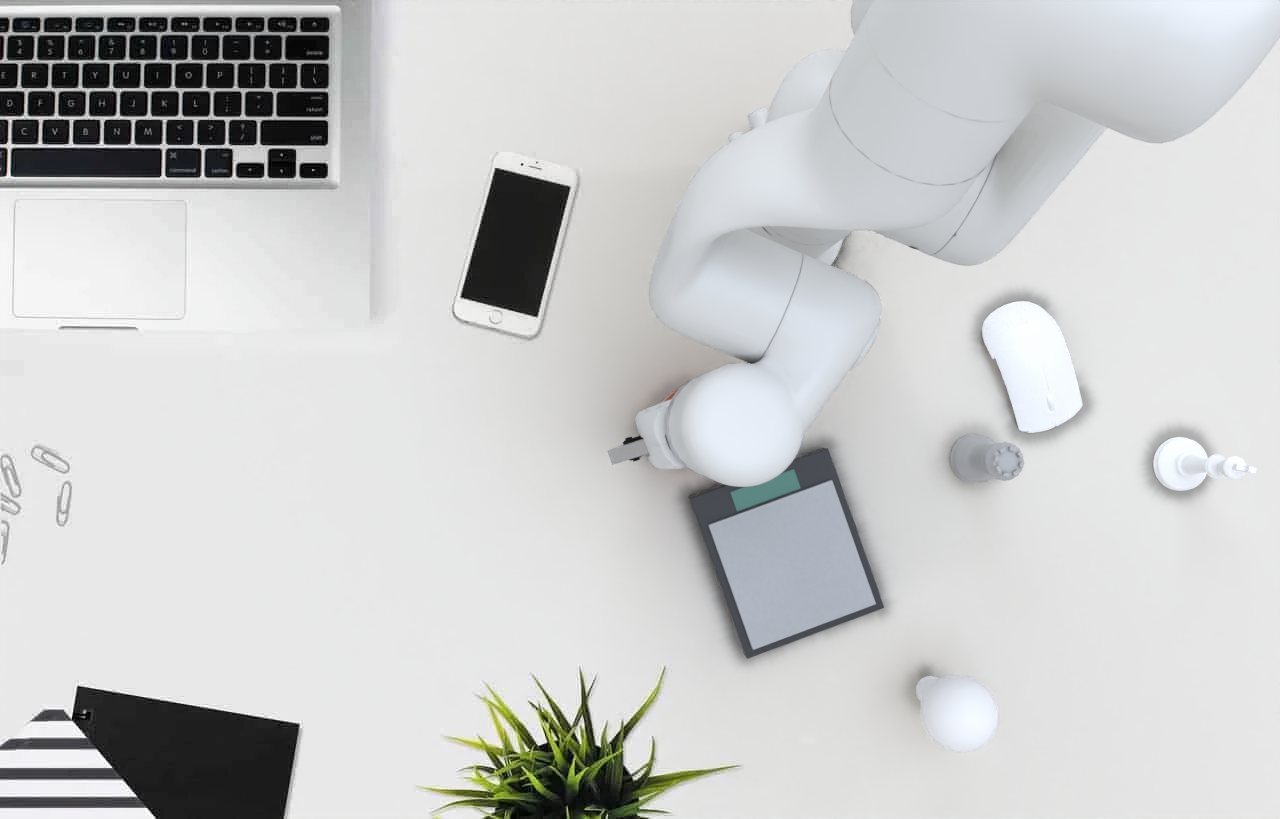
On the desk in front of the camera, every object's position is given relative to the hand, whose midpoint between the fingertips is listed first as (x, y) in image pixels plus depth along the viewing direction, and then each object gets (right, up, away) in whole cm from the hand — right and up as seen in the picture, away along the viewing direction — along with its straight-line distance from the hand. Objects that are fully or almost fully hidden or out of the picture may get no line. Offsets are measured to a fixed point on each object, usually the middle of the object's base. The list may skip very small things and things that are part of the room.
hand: (692, 424), depth 88 cm
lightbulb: (+21, -24, +2) cm, 32 cm away
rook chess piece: (+25, -3, +2) cm, 26 cm away
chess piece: (+45, -4, +3) cm, 45 cm away
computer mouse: (+31, +5, +3) cm, 32 cm away
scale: (+8, -11, +1) cm, 14 cm away
